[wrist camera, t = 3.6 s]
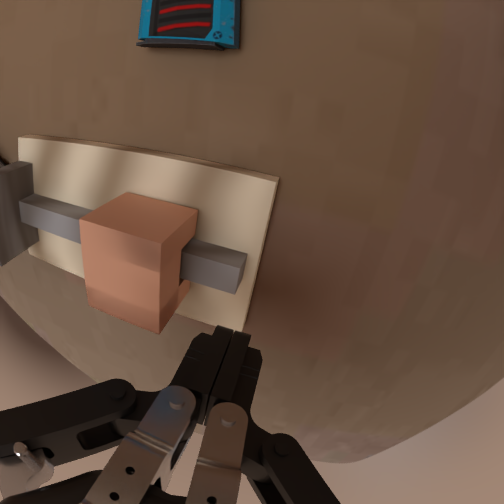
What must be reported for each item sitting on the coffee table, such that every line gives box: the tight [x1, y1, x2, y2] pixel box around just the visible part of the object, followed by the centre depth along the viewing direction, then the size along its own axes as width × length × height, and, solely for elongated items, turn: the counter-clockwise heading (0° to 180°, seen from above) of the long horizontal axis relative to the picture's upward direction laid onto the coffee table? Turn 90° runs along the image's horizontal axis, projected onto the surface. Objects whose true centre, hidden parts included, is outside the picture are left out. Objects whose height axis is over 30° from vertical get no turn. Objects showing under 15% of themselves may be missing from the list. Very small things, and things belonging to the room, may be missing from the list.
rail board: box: [0, 134, 279, 332], centre depth 18 cm, size 21×11×6 cm, turn 78°
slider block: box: [79, 192, 198, 334], centre depth 17 cm, size 5×6×5 cm
